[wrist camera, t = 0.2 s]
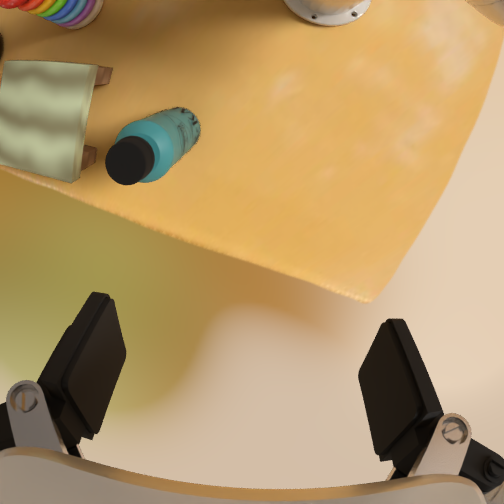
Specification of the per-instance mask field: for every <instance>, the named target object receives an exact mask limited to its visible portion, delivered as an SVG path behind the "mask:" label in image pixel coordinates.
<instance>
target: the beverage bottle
mask: <svg viewBox="0 0 504 504" xmlns="http://www.w3.org/2000/svg"><path fill="white" fill-rule="evenodd" d="M158 112H159V111H158ZM198 120H199V119H197V117H196V116H195V115H194V114H193V113H192V112H191V111H189V110H187V108H186V109H184V107H183V108H182V107H181V108H179V107H176V108H173V107H172V109H169V110H166V111H163V112H161V111H160V113H157V114H155V113H154V115H151V116H149V117H147V118H144V119H141V120H138V121H134V122H132V123H130V124H128V125H127V126H125V127H124V128H123V129H122V130H121V131H120V133H119V134H118V136H117V138H116V141H115V144H114V145H113V146H112V147H111V148H110V149H109V151H108V153H107V155H106V160H105V164H106V169H107V172H108V174H109V176H110V177H111V178H112V179H113V180H114V181H115V182H117V183H119V184H122V185H132V184H135V183H137V182H142V183H148V182H153V181H156V180H158V179H159V178H161V177H162V176H164V175H165V174H166V173H167V172H168V170H169V169H170V168H171V167H172V166H173V165H174V164H175V163H177V161H179V159H180V158H181V157H182V156H183V155H184V154H185V153H187V151H188V150H189V149H190V148H191V147H192V146H193V145H194V144H195V143H196V142H198V138H199V137H200V136H199V135H200V126H201V125H199V121H198ZM194 146H195V145H194ZM182 158H183V157H182ZM173 167H174V166H173Z"/></svg>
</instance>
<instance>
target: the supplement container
mask: <svg viewBox="0 0 504 504" xmlns="http://www.w3.org/2000/svg"><path fill="white" fill-rule="evenodd" d="M2 51H3V39H2V35H1V33H0V59H1V56H2Z"/></svg>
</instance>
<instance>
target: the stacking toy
mask: <svg viewBox="0 0 504 504" xmlns="http://www.w3.org/2000/svg"><path fill="white" fill-rule="evenodd" d="M103 1H104V0H0V6H1V7H3V8H7V9H11V8H16V7H18V8H19V9H20V10H22V11H27V12H28V13H30V14H36V15H37V16H40V17H43V18H44V19H46V20H49V21H52V22H54V23H56V24H57V25H59V26H62V27H65V28H68V29H79V28H82V27H84V26H86V25H88V24H89V23H90V22H91V21H93V20H94V19H95V17H96V16H97V15H98V14H99V12H100V10H101V8H102V5H103Z"/></svg>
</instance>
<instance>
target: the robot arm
mask: <svg viewBox="0 0 504 504" xmlns="http://www.w3.org/2000/svg"><path fill="white" fill-rule="evenodd" d="M283 1H284V3H285V4H286V5H287V6H288V7H289V9H290V10H292V11H293V12H294V13H295V14H296V15H298V16H299V17H301V18H303V19H304V20H307V21H309V22H312V23H314V24H318V25H322V26H341V25H345V24H349V23H351V22H353V21H355V20H357V19H358V18H360V17H361V16H362V15H363V14H364V13H365V12H366V11H367V9H368V8H369V5H370V3H371V0H283ZM465 1H467V2H468V3H469V4H470V5H472V6H473V7H474V8H475V9H476V10H478V11H479V12H480V13H481V14H483V15H484V16H485V17H487V18H488V19H489V20H491V21H492V22H494V23H496V24H498V25H500V26H502V27H504V0H465ZM351 14H354V17H353V16H352V15H351ZM311 16H314V17H315V19H312V18H311ZM125 359H126V348H125V345H124V341H123V337H122V333H121V329H120V325H119V320H118V316H117V312H116V307H115V302H114V300H113V299H110V296H109V295H108V294H105V293H99V292H92V293H91V295H90V296H89V298H88V299H87V301H86V302H85V304H84V305H83V307H82V309H81V310H80V312H79V314H78V315H77V317H76V318H75V320H74V322H73V323H72V325H70V326H69V327H68V328H67V329H66V331H65V333H64V334H63V336H62V338H61V340H60V341H59V343H58V344H57V346H56V348H55V350H54V351H53V353H52V355H51V357H50V359H49V361H48V362H47V364H46V366H45V368H44V370H43V371H42V373H41V375H40V377H39V379H38V381H37V383H35V382H33V381H30V380H24V381H20V382H18V383H16V384H14V385H13V386H12V387H11V388H10V390H9V391H8V394H7V397H6V402H5V403H2V404H0V504H504V459H503V458H502V457H501V456H500V455H498V454H497V453H495V452H493V451H492V450H490V449H488V448H487V447H485V446H483V445H482V444H480V443H478V442H477V441H475V440H473V439H472V438H471V428H470V425H469V423H468V422H467V421H466V419H465V418H463V417H462V416H461V415H458V414H455V413H449V414H446V415H444V413H443V410H442V407H441V405H440V402H439V400H438V397H437V395H436V392H435V389H434V387H433V384H432V382H431V379H430V377H429V374H428V372H427V370H426V367H425V365H424V362H423V360H422V358H421V356H420V353H419V351H418V349H417V346H416V344H415V342H414V340H413V338H412V335H411V333H410V331H409V329H408V327H407V324H406V322H405V321H404V320H403V319H387V320H386V322H385V323H382V324H381V326H380V328H379V331H378V333H377V335H376V337H375V339H374V341H373V343H372V345H371V347H370V350H369V352H368V354H367V356H366V358H365V360H364V362H363V364H362V366H361V368H360V370H359V374H358V378H359V383H360V387H361V391H362V395H363V400H364V404H365V408H366V413H367V417H368V422H369V426H370V431H371V436H372V441H373V446H374V451H375V453H376V454H377V455H379V458H380V461H388V460H392V461H393V466H394V467H393V469H392V470H391V472H390V474H389V475H388V477H387V479H386V481H381V482H374V483H367V484H358V485H350V486H340V487H329V488H313V489H248V488H247V489H246V488H232V487H221V486H210V485H201V484H194V483H186V482H180V481H174V480H168V479H163V478H157V477H152V476H147V475H143V474H138V473H134V472H130V471H126V470H122V469H118V468H114V467H110V466H106V465H102V464H99V463H96V462H92V461H89V460H85V458H84V455H83V453H82V451H81V449H80V446H79V443H80V440H81V437H84V438H87V439H90V440H92V439H93V436H94V434H97V433H98V432H99V430H100V428H101V425H102V422H103V419H104V416H105V413H106V410H107V407H108V405H109V402H110V399H111V396H112V394H113V391H114V388H115V385H116V382H117V380H118V377H119V375H120V372H121V369H122V367H123V364H124V362H125Z"/></svg>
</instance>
